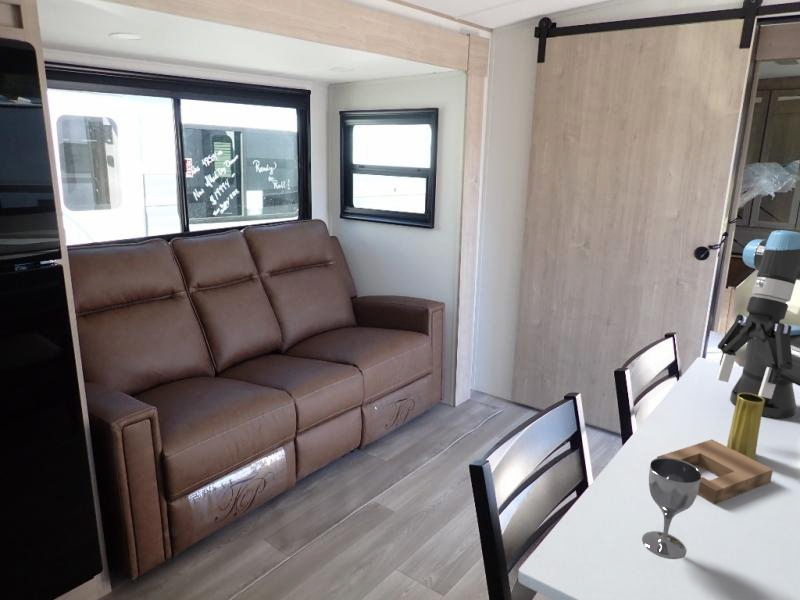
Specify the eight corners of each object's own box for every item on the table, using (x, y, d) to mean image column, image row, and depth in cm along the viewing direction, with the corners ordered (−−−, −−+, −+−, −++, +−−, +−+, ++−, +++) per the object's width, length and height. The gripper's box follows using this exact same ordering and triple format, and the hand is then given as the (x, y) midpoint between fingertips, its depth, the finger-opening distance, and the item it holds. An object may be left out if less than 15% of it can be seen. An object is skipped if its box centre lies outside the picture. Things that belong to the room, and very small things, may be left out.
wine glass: (667, 565, 96) (680, 487, 92) (629, 537, 103) (640, 463, 99) (698, 551, 100) (712, 475, 96) (660, 525, 107) (671, 453, 103)
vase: (760, 463, 128) (771, 404, 124) (730, 459, 129) (740, 401, 125) (749, 449, 134) (760, 393, 130) (721, 446, 135) (731, 390, 131)
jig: (709, 450, 133) (711, 439, 132) (770, 482, 121) (772, 469, 120) (655, 468, 125) (657, 456, 124) (713, 504, 113) (716, 490, 112)
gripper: (717, 289, 141) (693, 371, 143) (800, 302, 117) (769, 401, 119) (744, 296, 142) (719, 377, 144) (831, 310, 118) (800, 408, 120)
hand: (742, 388), depth 131 cm, fingers open, 13 cm apart
